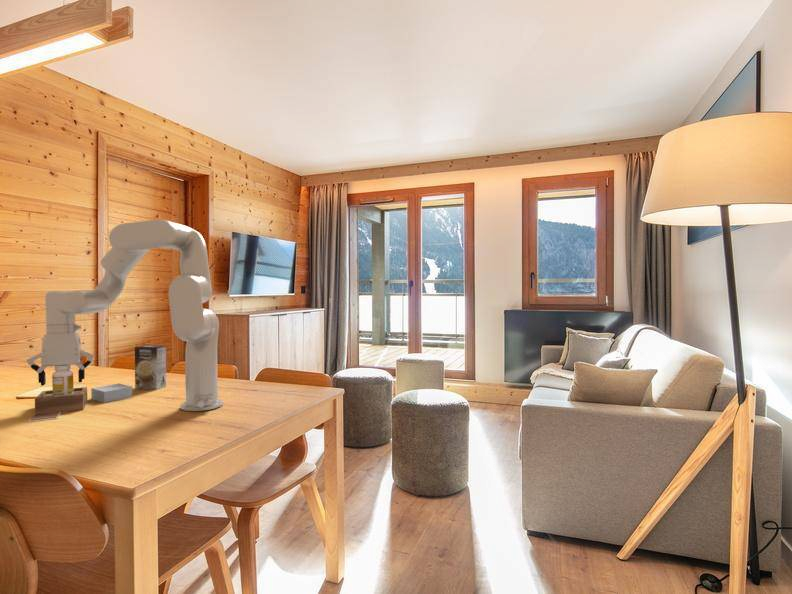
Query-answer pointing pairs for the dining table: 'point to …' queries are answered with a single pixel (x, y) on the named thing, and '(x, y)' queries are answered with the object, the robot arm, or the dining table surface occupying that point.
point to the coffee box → (150, 367)
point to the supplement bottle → (62, 381)
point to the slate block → (111, 392)
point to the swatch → (44, 416)
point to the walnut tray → (61, 401)
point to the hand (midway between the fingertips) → (62, 383)
